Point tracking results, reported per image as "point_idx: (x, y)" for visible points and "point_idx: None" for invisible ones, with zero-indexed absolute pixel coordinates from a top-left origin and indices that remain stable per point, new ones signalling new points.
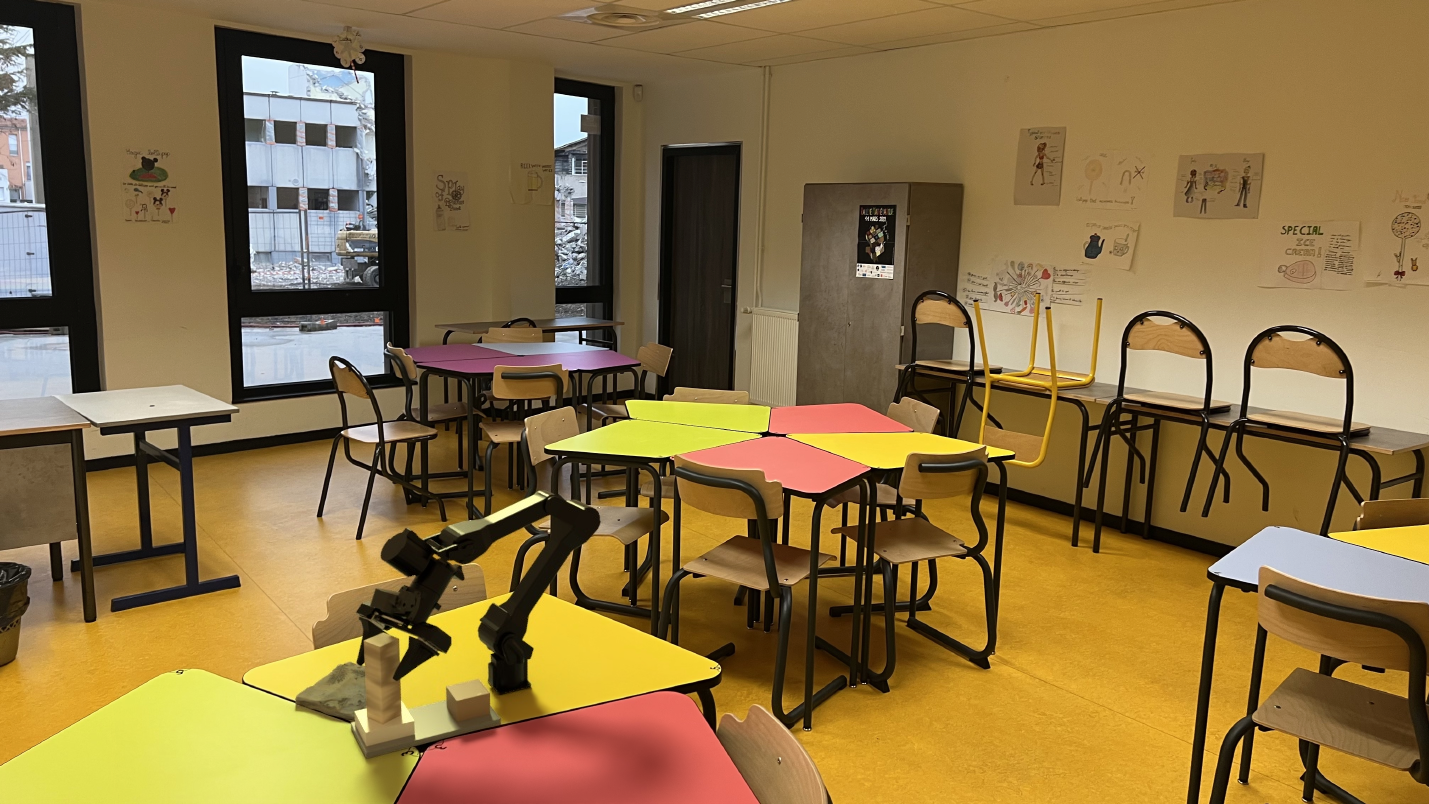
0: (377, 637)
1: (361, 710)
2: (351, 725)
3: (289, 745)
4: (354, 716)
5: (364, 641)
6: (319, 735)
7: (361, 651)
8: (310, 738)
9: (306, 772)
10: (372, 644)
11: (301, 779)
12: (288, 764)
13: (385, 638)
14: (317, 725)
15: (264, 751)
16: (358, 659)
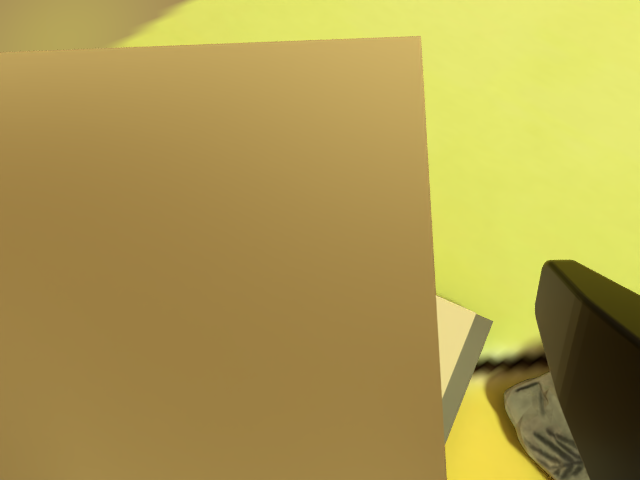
0: (304, 355)
1: (454, 341)
2: (476, 315)
3: (555, 94)
4: (541, 378)
5: (398, 49)
6: (535, 205)
7: (629, 316)
8: (541, 170)
9: (333, 33)
10: (114, 53)
11: (309, 2)
12: (431, 24)
13: (66, 447)
14: (623, 250)
15: (585, 20)
16: (576, 275)
